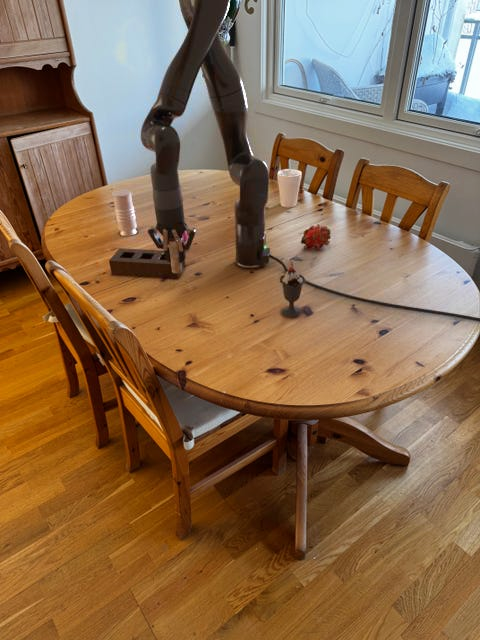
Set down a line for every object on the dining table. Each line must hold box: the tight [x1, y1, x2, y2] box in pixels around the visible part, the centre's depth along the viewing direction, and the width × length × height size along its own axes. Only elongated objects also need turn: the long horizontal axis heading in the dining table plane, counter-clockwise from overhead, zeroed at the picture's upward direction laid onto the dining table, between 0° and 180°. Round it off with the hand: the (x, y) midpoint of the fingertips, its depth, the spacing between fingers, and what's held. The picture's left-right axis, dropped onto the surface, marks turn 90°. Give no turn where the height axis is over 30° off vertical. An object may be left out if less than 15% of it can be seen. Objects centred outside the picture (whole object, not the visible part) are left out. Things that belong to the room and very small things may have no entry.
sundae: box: [279, 258, 307, 318], centre depth 120 cm, size 7×7×15 cm
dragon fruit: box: [300, 223, 332, 251], centre depth 154 cm, size 8×8×12 cm
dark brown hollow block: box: [108, 247, 186, 280], centre depth 145 cm, size 21×9×5 cm, turn 81°
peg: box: [168, 237, 183, 274], centre depth 131 cm, size 3×3×11 cm
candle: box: [111, 188, 138, 237], centre depth 166 cm, size 7×7×15 cm
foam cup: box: [277, 168, 303, 208], centre depth 186 cm, size 10×9×13 cm
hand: (176, 261), depth 132 cm, fingers closed on peg, 3 cm apart
